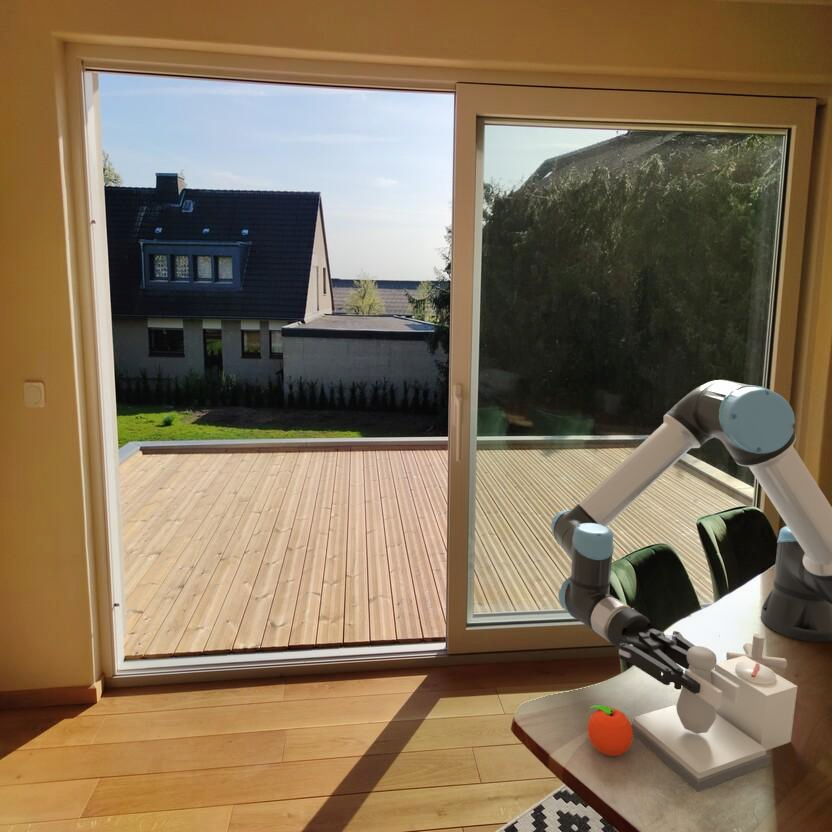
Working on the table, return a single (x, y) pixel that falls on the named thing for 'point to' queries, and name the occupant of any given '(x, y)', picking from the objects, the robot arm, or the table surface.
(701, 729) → the salt shaker
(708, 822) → the table surface
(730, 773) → the dial scale
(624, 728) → the clementine
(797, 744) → the table surface
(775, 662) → the pipe connector
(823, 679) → the table surface
